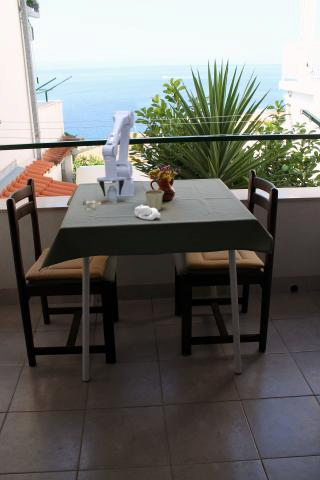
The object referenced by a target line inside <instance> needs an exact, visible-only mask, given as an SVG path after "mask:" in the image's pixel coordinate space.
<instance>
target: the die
mask: <svg viewBox="0 0 320 480" xmlns="http://www.w3.org/2000/svg"><path fill="white" fill-rule="evenodd" d="M95 201H96V200H86V201H85V202H86V205H85V206H86V211H96V204H95Z"/></svg>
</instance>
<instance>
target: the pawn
mask: <svg viewBox="0 0 320 480" xmlns="http://www.w3.org/2000/svg"><path fill="white" fill-rule="evenodd" d="M107 201H108V202H109V203H115V204H117V203H118V196H117V189H116V187H115V186H114V185H110V186H109V187H108V190H107ZM116 202H117V203H116Z"/></svg>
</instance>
